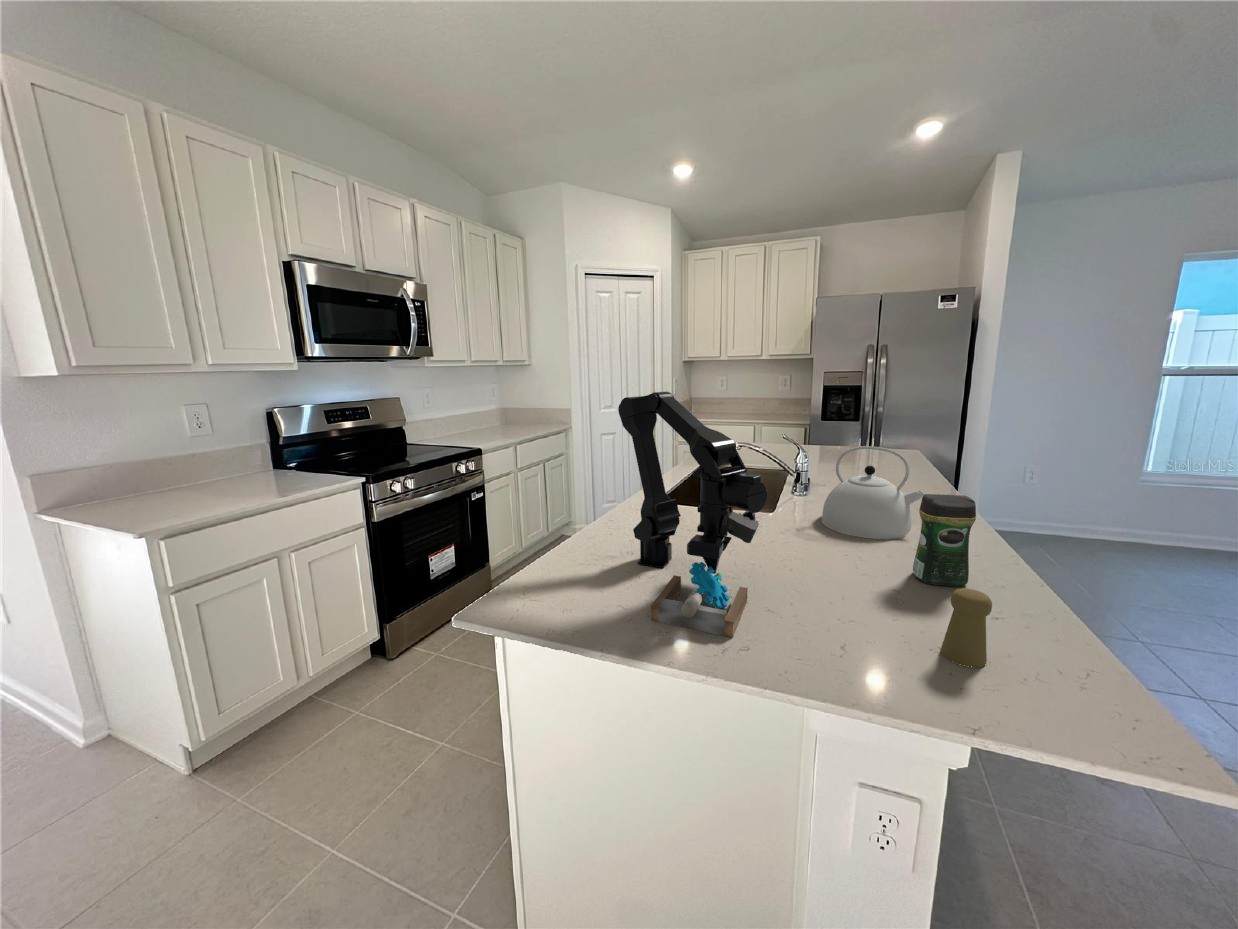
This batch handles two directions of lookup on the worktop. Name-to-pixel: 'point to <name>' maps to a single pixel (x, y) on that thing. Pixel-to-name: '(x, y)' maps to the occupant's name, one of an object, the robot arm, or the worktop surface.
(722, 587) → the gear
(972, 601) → the cork
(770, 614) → the worktop surface
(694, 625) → the cradle
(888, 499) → the kettle
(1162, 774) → the worktop surface
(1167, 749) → the worktop surface
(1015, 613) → the worktop surface
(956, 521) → the coffee jar
